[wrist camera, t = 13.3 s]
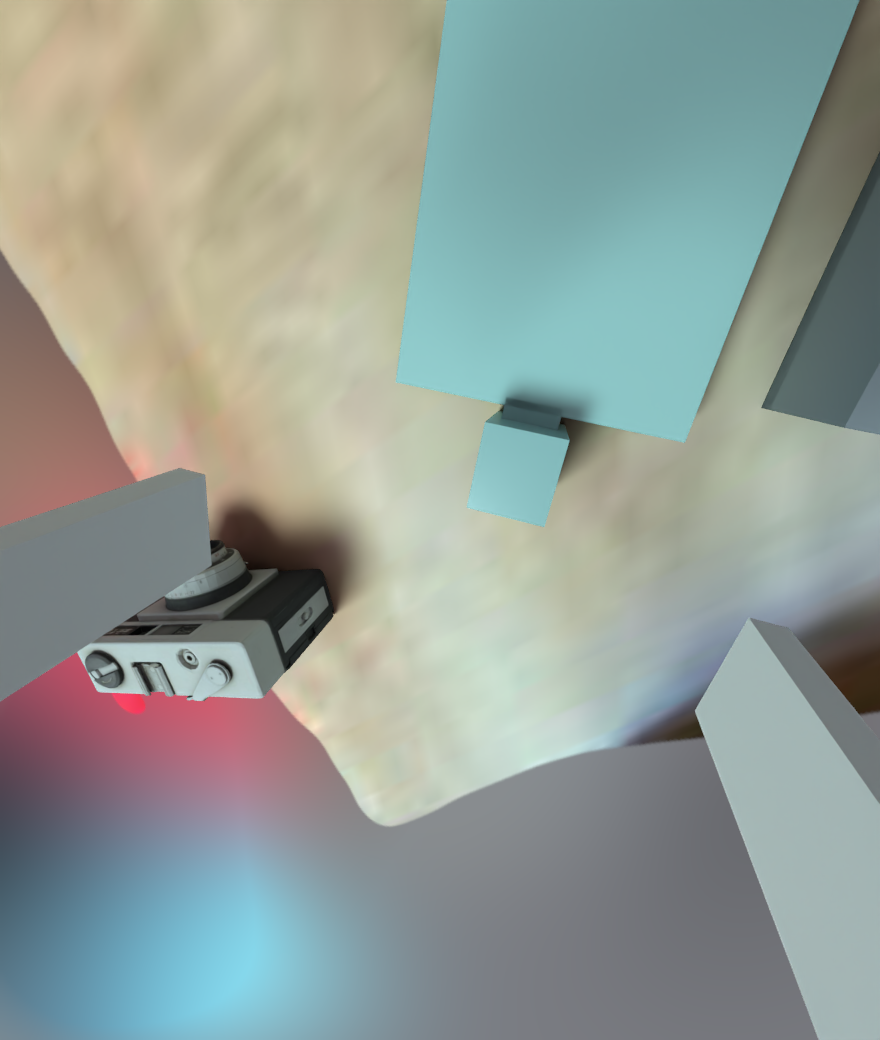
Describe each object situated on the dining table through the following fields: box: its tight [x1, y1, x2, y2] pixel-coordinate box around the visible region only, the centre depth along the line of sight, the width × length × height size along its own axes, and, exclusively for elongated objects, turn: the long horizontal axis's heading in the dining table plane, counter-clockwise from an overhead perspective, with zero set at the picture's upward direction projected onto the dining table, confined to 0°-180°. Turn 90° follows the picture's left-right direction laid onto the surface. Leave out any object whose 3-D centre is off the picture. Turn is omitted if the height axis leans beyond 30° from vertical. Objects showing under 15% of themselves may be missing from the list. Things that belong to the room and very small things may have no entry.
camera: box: [77, 540, 334, 701], centre depth 31 cm, size 14×8×10 cm, turn 100°
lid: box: [396, 0, 859, 527], centre depth 20 cm, size 23×15×6 cm, turn 170°
